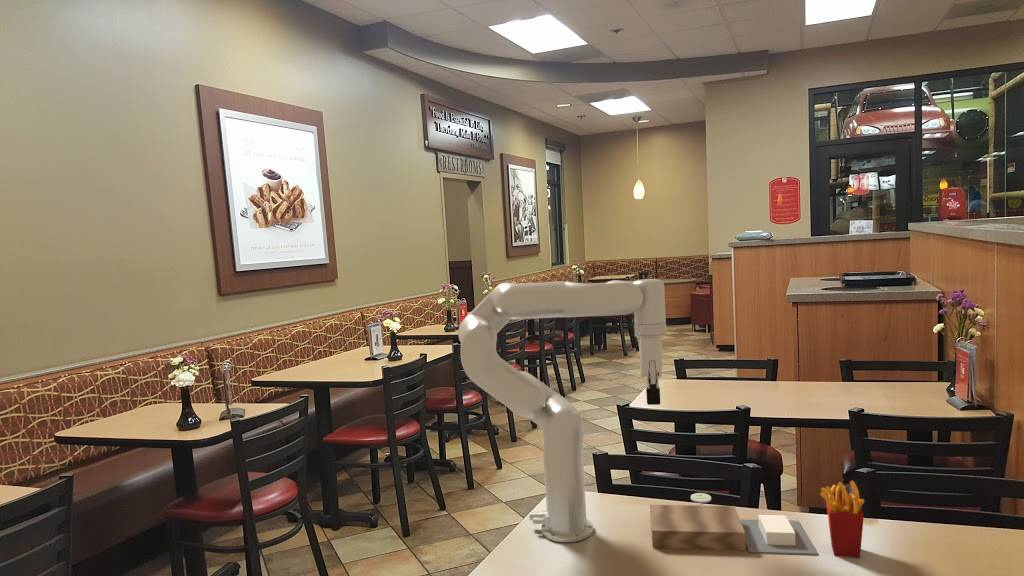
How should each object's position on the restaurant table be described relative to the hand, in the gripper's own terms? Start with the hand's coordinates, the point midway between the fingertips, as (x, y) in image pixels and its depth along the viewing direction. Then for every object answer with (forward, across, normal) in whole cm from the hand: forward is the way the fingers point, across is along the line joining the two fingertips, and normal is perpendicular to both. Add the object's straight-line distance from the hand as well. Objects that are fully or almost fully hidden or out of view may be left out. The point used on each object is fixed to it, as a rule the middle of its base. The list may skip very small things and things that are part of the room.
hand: (653, 403), depth 154 cm
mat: (+29, +8, +26) cm, 40 cm away
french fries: (+29, +13, +38) cm, 50 cm away
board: (+29, +8, +8) cm, 31 cm away
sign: (+30, -8, +11) cm, 33 cm away
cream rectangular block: (+26, +8, +26) cm, 38 cm away
